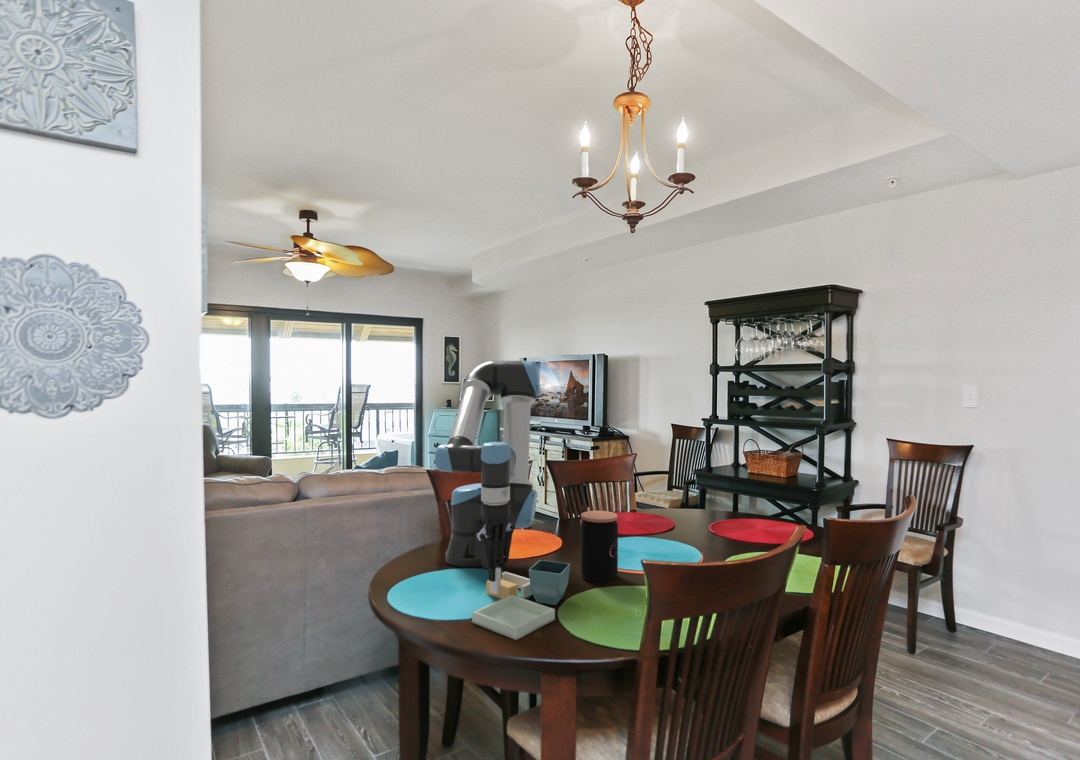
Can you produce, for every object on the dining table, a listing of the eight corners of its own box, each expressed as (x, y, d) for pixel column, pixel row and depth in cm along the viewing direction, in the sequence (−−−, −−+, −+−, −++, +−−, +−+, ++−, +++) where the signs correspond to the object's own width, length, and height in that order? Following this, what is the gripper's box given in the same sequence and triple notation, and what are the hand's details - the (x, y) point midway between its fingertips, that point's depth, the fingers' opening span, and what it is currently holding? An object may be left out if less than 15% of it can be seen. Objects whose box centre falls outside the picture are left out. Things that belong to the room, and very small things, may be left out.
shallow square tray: (472, 622, 133) (472, 612, 133) (511, 604, 144) (511, 594, 144) (516, 640, 125) (516, 628, 125) (554, 619, 135) (554, 609, 135)
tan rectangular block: (486, 594, 151) (486, 580, 151) (495, 590, 154) (495, 577, 154) (508, 601, 146) (508, 588, 146) (517, 597, 149) (517, 584, 149)
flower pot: (570, 597, 149) (571, 563, 149) (561, 610, 141) (561, 573, 141) (539, 592, 152) (539, 559, 152) (527, 605, 144) (528, 569, 144)
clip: (492, 587, 156) (492, 576, 156) (505, 582, 160) (505, 571, 160) (523, 598, 148) (523, 586, 148) (537, 592, 153) (537, 581, 153)
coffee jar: (616, 585, 158) (616, 520, 158) (578, 582, 160) (578, 518, 160) (618, 572, 169) (619, 511, 169) (582, 569, 171) (583, 509, 171)
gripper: (488, 508, 141) (487, 603, 141) (522, 500, 151) (522, 588, 151) (467, 504, 146) (466, 596, 146) (502, 496, 156) (501, 582, 156)
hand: (495, 592), depth 148 cm, fingers closed
